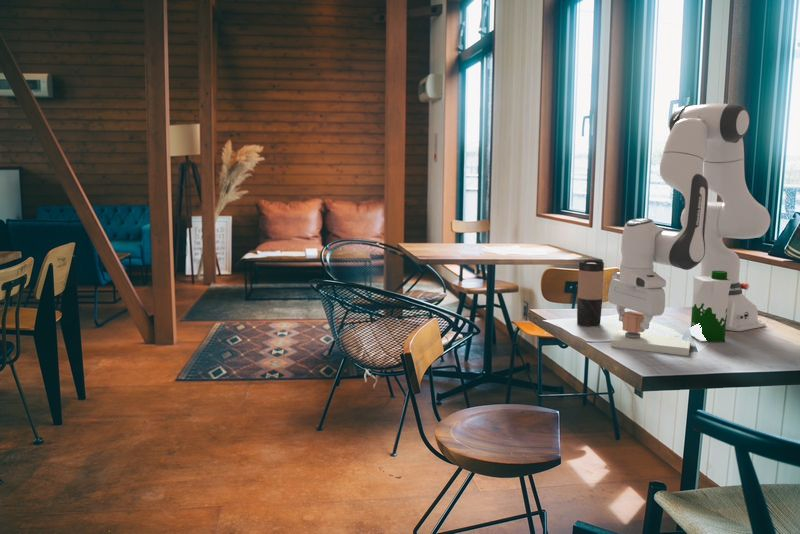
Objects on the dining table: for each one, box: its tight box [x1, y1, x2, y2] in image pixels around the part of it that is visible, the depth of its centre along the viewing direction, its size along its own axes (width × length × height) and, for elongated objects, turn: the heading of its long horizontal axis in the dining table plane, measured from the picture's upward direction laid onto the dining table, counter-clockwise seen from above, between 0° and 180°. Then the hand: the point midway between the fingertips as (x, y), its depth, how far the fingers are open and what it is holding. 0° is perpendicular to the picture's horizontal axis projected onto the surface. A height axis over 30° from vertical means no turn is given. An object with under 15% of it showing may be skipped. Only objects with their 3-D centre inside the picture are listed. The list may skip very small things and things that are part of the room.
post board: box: [610, 330, 691, 356], centre depth 190 cm, size 20×12×8 cm, turn 65°
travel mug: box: [576, 260, 605, 327], centre depth 215 cm, size 8×8×20 cm
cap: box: [622, 310, 646, 333], centre depth 192 cm, size 6×6×5 cm
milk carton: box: [690, 271, 731, 343], centre depth 197 cm, size 9×9×20 cm
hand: (633, 325), depth 192 cm, fingers open, 8 cm apart
